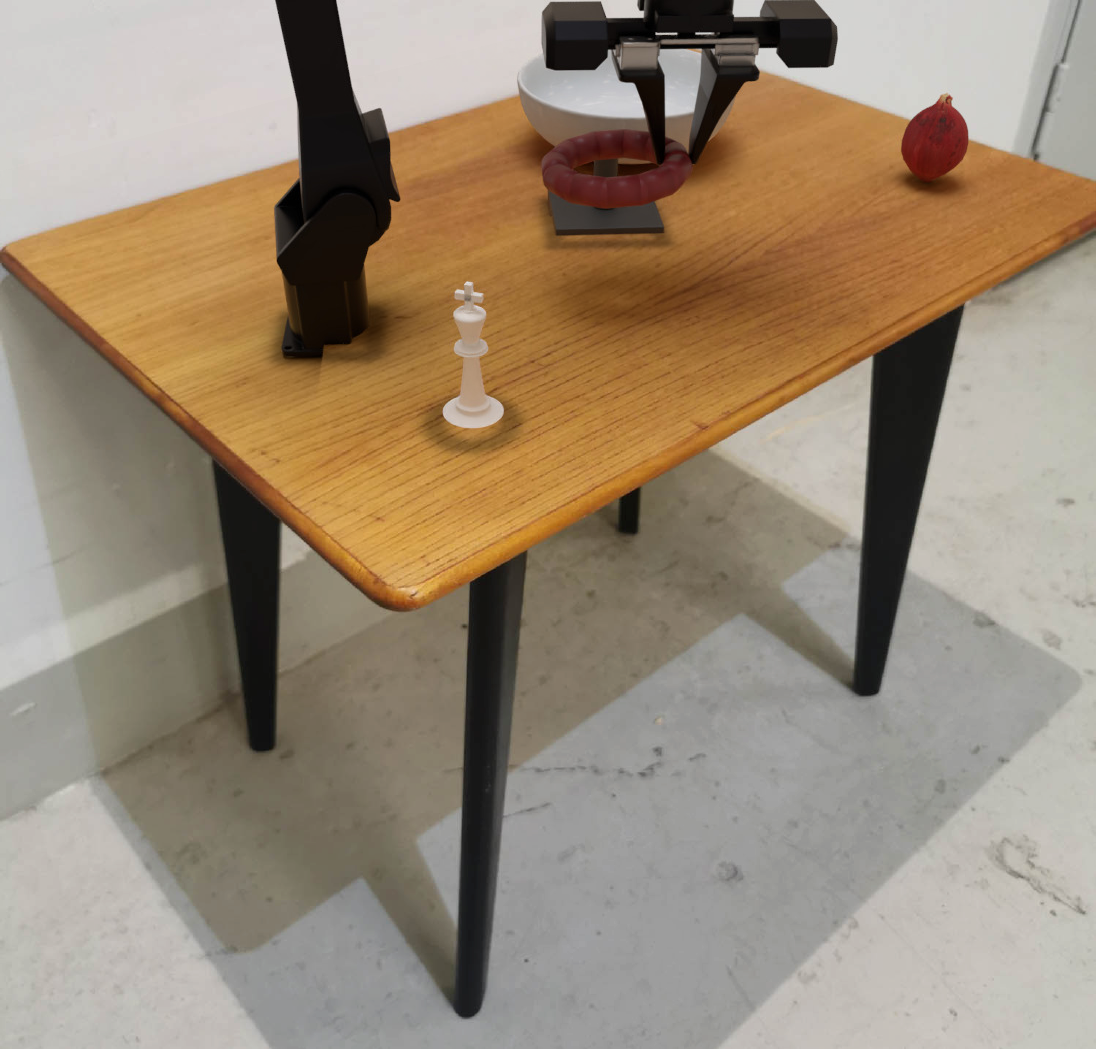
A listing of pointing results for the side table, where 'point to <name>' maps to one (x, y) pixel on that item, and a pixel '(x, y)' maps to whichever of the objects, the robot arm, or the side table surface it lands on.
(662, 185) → the ring
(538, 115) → the serving bowl
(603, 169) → the post
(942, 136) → the onion
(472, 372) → the chess piece
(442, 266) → the side table surface
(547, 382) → the side table surface
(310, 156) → the robot arm
